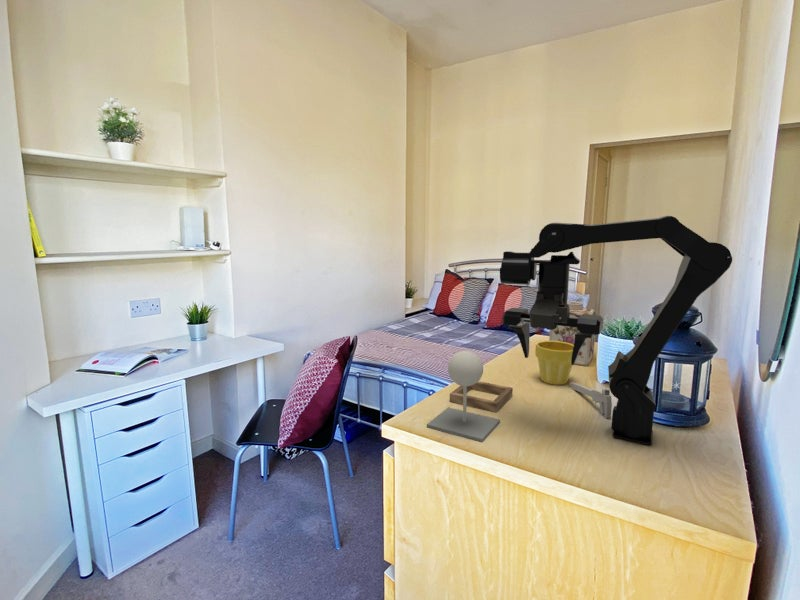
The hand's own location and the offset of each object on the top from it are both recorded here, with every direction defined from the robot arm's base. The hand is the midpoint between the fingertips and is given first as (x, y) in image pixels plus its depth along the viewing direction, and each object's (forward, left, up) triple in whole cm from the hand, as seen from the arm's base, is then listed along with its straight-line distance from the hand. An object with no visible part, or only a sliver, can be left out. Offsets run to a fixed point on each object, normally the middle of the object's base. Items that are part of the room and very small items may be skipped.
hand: (549, 361), depth 87 cm
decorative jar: (+4, -49, -13) cm, 51 cm away
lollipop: (+14, +11, -13) cm, 22 cm away
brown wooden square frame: (+16, -4, -13) cm, 21 cm away
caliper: (-6, -16, -14) cm, 22 cm away
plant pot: (+4, -26, -13) cm, 29 cm away
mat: (+14, +11, -13) cm, 22 cm away
